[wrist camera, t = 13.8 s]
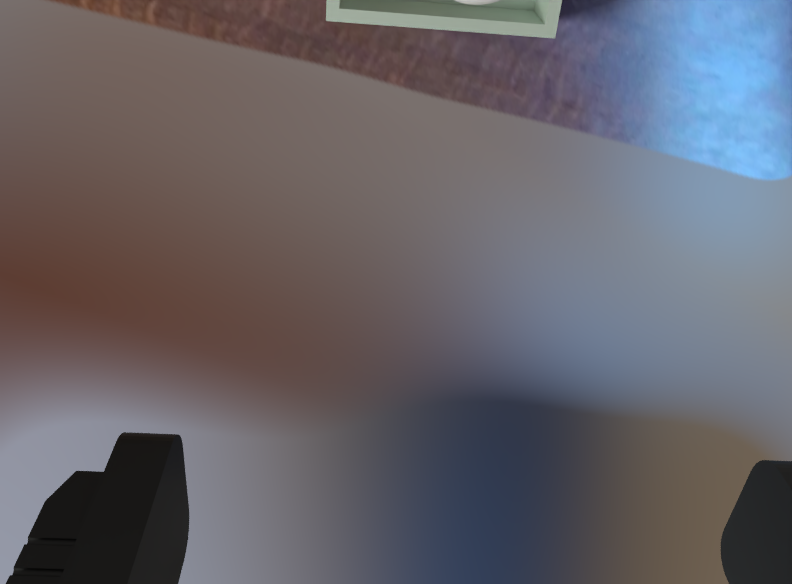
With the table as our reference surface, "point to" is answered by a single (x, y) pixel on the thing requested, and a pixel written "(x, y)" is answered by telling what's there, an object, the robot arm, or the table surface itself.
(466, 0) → the sprinkles bottle
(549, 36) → the tray
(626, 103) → the table surface
